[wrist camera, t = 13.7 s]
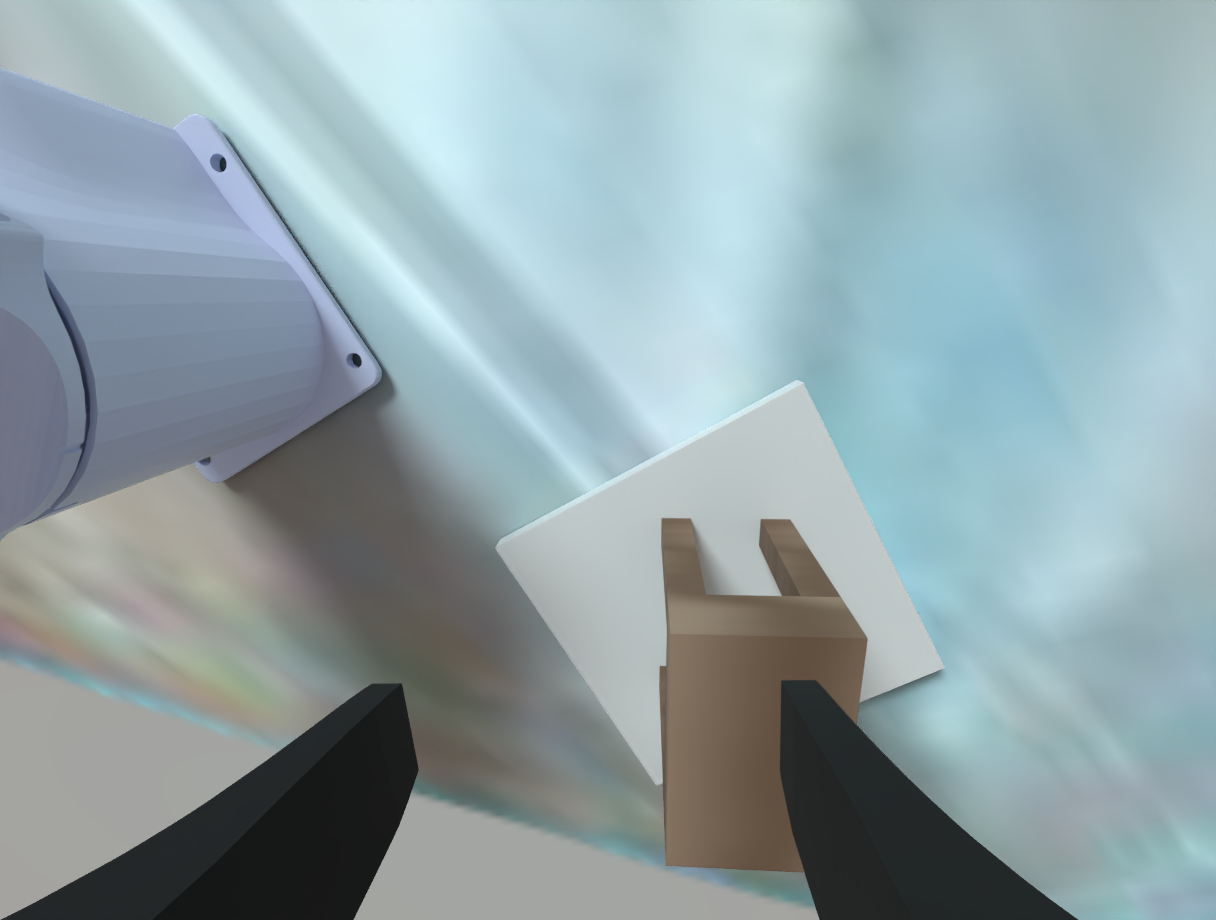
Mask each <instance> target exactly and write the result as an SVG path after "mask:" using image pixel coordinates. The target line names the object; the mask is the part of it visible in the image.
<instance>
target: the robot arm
mask: <svg viewBox="0 0 1216 920" xmlns="http://www.w3.org/2000/svg"><path fill="white" fill-rule="evenodd" d="M223 157H224V158H225V160H226V162H227V166H226V169H225V170H224V171H223V172H222V171H221V169H220V166H219V163H220V160H221V158H223ZM354 353H356V354H358V355H359V356H360V357H361V360H362V363H361V366H360V367H358V366H356V365H355V364H354V363H353V360H352V357H353V354H354ZM381 377H382V370H381V368H380V366H379V364H378V363H377V361H376V360H375V358H374V357H373V355H372V354H371V352H370V351H369V349H368V348H367V346H366V345H365V343H364V342H363V340H362V339H361V337H360V336H359V335H358V333H357V332H356V330H355V329H354V327H353V326H352V324H351V323H350V321H349V320H348V318H347V317H346V315H345V314H344V312H343V311H342V309H341V308H340V306H339V305H338V303H337V302H336V301H335V299H334V298H333V296H332V295H331V293H330V292H329V290H328V289H327V287H326V286H325V284H324V283H323V281H322V280H321V278H320V277H319V275H318V274H317V272H316V271H315V269H314V268H313V267H312V265H311V264H310V262H309V261H308V259H307V258H306V256H305V255H304V253H303V252H302V250H301V249H300V247H299V246H298V244H297V243H296V241H295V240H294V238H293V237H292V235H291V234H290V233H289V231H288V230H287V228H286V227H285V225H284V224H283V222H282V221H281V219H280V218H279V216H278V215H277V213H276V212H275V210H274V209H273V207H272V206H271V204H270V203H269V201H268V200H267V199H266V197H265V196H264V194H263V193H262V191H261V190H260V188H259V187H258V185H257V184H256V182H255V181H254V179H253V178H252V176H251V175H250V173H249V172H248V170H247V169H246V167H245V166H244V165H243V163H242V162H241V160H240V159H239V157H238V156H237V154H236V153H235V151H234V150H233V148H232V147H231V145H230V144H229V142H228V141H227V139H226V138H225V136H224V135H223V134H222V132H221V131H220V129H219V128H218V126H217V125H216V124H215V123H214V122H213V121H212V120H210V119H208V118H206V117H204V116H201V115H199V114H192V115H190V116H188V117H186V118H185V119H184V120H183V121H182V122H180V123H179V124H178V125H177V126H175V127H174V128H170V127H167V126H165V125H162V124H159V123H156V122H153V121H151V120H148V119H145V118H142V117H139V116H136V115H134V114H131V113H128V112H125V111H122V110H120V109H117V108H114V107H111V106H108V105H105V104H103V103H100V102H97V101H94V100H91V99H89V98H86V97H83V96H80V95H77V94H74V93H72V92H69V91H66V90H63V89H60V88H57V87H55V86H52V85H49V84H46V83H43V82H41V81H38V80H35V79H32V78H29V77H26V76H24V75H21V74H18V73H15V72H12V71H10V70H7V69H4V68H1V67H0V541H1V540H2V539H3V537H4V536H5V535H7V534H8V533H9V532H11V531H13V530H15V529H17V528H18V527H20V526H23V525H27V524H29V523H32V522H35V521H38V520H40V519H43V518H46V517H48V516H51V515H54V514H56V513H59V512H62V511H64V510H67V509H70V508H73V507H75V506H78V505H81V504H83V503H86V502H89V501H91V500H94V499H97V498H100V497H102V496H105V495H108V494H110V493H113V492H116V491H118V490H121V489H124V488H127V487H129V486H132V485H135V484H137V483H140V482H143V481H145V480H148V479H151V478H153V477H156V476H159V475H162V474H164V473H167V472H170V471H172V470H175V469H178V468H180V467H183V466H186V465H189V464H191V463H193V464H194V465H195V466H196V467H197V469H198V470H199V471H200V472H201V474H202V475H203V476H204V477H205V478H206V479H207V480H209V481H211V482H213V483H219V482H222V481H224V480H227V479H229V478H230V477H232V476H234V475H235V474H237V473H238V472H240V471H241V470H243V469H245V468H246V467H248V466H249V465H251V464H252V463H254V462H256V461H257V460H259V459H260V458H262V457H263V456H265V455H267V454H268V453H270V452H271V451H273V450H275V449H276V448H278V447H279V446H281V445H282V444H284V443H286V442H287V441H289V440H290V439H292V438H293V437H295V436H297V435H298V434H300V433H301V432H303V431H305V430H306V429H308V428H309V427H311V426H312V425H314V424H316V423H317V422H319V421H320V420H322V419H323V418H325V417H327V416H328V415H330V414H331V413H333V412H334V411H336V410H338V409H339V408H341V407H342V406H344V405H346V404H347V403H349V402H350V401H352V400H353V399H355V398H357V397H358V396H360V395H361V394H363V393H364V392H366V391H368V390H369V389H371V388H372V387H374V386H375V385H377V384H378V383H379V382H380V380H381ZM207 457H210V459H211V462H209V461H208V460H207V459H206V458H207ZM418 770H419V769H418V764H417V759H416V754H415V749H414V744H413V738H412V733H411V728H410V723H409V718H408V713H407V708H406V703H405V698H404V692H403V687H402V684H371V685H369V686H368V687H366V688H365V689H363V690H362V691H360V692H359V693H357V694H356V695H355V696H353V697H352V698H350V699H349V700H348V701H346V702H345V703H344V704H342V705H341V706H340V707H338V708H337V709H335V710H334V711H333V712H331V713H330V714H329V715H327V716H326V717H325V718H323V719H322V720H321V721H319V722H318V723H317V724H315V725H314V726H313V727H311V728H310V729H309V730H307V731H306V732H305V733H303V734H302V735H301V736H299V737H298V738H297V739H295V740H294V741H293V742H291V743H290V744H288V745H287V746H286V747H284V748H283V749H282V750H280V751H279V752H278V753H276V754H275V755H274V756H272V757H271V758H269V759H268V760H267V761H265V762H264V763H262V764H261V765H260V766H258V767H257V768H255V769H254V770H252V771H251V772H249V773H248V774H247V775H245V776H244V777H242V778H241V779H239V780H238V781H237V782H235V783H234V784H232V785H231V786H229V787H228V788H226V789H225V790H224V791H222V792H221V793H219V794H218V795H216V796H215V797H214V798H212V799H211V800H209V801H208V802H207V803H205V804H203V805H202V806H200V807H199V808H197V809H196V810H194V811H192V812H191V813H190V814H188V815H186V816H185V817H183V818H182V819H180V820H178V821H177V822H175V823H174V824H172V825H171V826H169V827H167V828H166V829H164V830H162V831H161V832H159V833H157V834H156V835H154V836H153V837H151V838H149V839H148V840H146V841H145V842H143V843H141V844H139V845H138V846H136V847H134V848H133V849H131V850H129V851H128V852H126V853H124V854H122V855H121V856H119V857H117V858H116V859H114V860H112V861H110V862H108V863H106V864H105V865H103V866H101V867H99V868H97V869H95V870H94V871H92V872H90V873H88V874H86V875H85V876H83V877H81V878H79V879H77V880H76V881H74V882H72V883H70V884H68V885H66V886H64V887H62V888H61V889H59V890H57V891H55V892H53V893H51V894H50V895H48V896H46V897H44V898H43V899H40V900H39V901H37V902H35V903H33V904H31V905H29V906H27V907H25V908H23V909H21V910H19V911H18V912H15V913H13V914H11V915H9V916H7V917H6V918H3V919H1V920H354V918H355V916H356V913H357V911H358V909H359V907H360V905H361V903H362V901H363V899H364V897H365V895H366V893H367V891H368V889H369V887H370V885H371V883H372V881H373V879H374V877H375V875H376V873H377V870H378V869H379V867H380V865H381V862H382V860H383V858H384V856H385V854H386V852H387V850H388V848H389V846H390V844H391V842H392V840H393V838H394V835H395V833H396V831H397V829H398V827H399V824H400V822H401V819H402V816H403V814H404V811H405V808H406V805H407V803H408V800H409V797H410V794H411V791H412V788H413V785H414V782H415V779H416V776H417V773H418ZM780 775H781V780H782V785H783V790H784V795H785V800H786V805H787V810H788V815H789V819H790V824H791V829H792V833H793V836H794V840H795V843H796V846H797V849H798V853H799V856H800V859H801V862H802V865H803V869H804V872H805V875H806V878H807V881H808V885H809V888H810V891H811V894H812V897H813V900H814V904H815V907H816V910H817V913H818V916H819V919H820V920H1078V919H1076V918H1075V917H1074V916H1072V915H1071V914H1069V913H1068V912H1067V911H1065V910H1064V909H1063V908H1061V907H1060V906H1058V905H1057V904H1056V903H1054V902H1053V901H1052V900H1050V899H1049V898H1048V897H1046V896H1045V895H1044V894H1042V893H1041V892H1040V891H1038V890H1037V889H1036V888H1035V887H1033V886H1032V885H1031V884H1029V883H1028V882H1027V881H1025V880H1024V879H1023V878H1022V877H1020V876H1019V875H1018V874H1017V873H1015V872H1014V871H1013V870H1012V869H1010V868H1009V867H1008V866H1007V865H1006V864H1004V863H1003V862H1002V861H1001V860H999V859H998V858H997V857H996V856H994V855H993V854H992V853H991V852H990V851H988V850H987V849H986V848H985V847H983V846H982V845H981V844H980V843H979V842H977V841H976V840H975V839H974V838H973V837H971V836H970V835H969V834H968V833H967V832H966V831H964V830H963V829H962V828H961V827H960V826H959V825H958V824H957V823H955V822H954V821H953V820H952V819H951V818H950V817H949V816H948V815H947V814H946V813H944V812H943V811H942V810H941V809H940V808H939V807H938V806H937V805H936V804H935V803H934V802H933V801H931V800H930V799H929V798H928V797H927V796H926V795H925V794H924V793H923V792H922V791H921V790H920V789H919V788H918V787H917V786H916V785H915V784H914V783H913V782H912V781H911V780H909V779H908V778H907V777H906V776H905V775H904V774H903V773H902V772H901V771H900V769H899V768H898V767H897V766H896V765H895V764H894V763H893V762H892V761H891V760H890V759H889V758H888V757H887V756H886V755H885V754H884V753H883V752H882V751H881V750H880V749H879V748H878V747H877V746H876V745H875V744H874V743H873V742H872V741H871V740H870V739H869V738H868V737H867V736H866V734H865V733H864V732H863V731H862V730H861V729H860V728H859V727H858V726H857V725H856V724H855V722H854V721H853V720H852V719H851V718H850V717H849V716H848V715H847V714H846V713H845V711H844V710H843V709H842V708H841V707H840V706H839V705H838V704H837V702H836V701H835V700H834V699H833V698H832V697H831V696H830V695H829V693H828V692H827V691H826V690H825V689H824V688H823V687H822V686H821V685H820V684H819V683H818V682H817V681H816V680H781V728H780Z"/></svg>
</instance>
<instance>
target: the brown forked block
mask: <svg viewBox="0 0 1216 920" xmlns="http://www.w3.org/2000/svg"><path fill="white" fill-rule="evenodd" d="M759 547H760V549H761V551H762V554H763V556H764V558H765V560H766V562H767V564H768V567H769V569H770V571H771V573H772V575H773V578H774V580H775V582H776V584H777V586H778V588H779V591H780V593H781V595H782V596H752V595H706V591H705V586H704V581H703V576H702V572H701V567H700V562H699V557H698V552H697V547H696V543H695V538H694V533H693V528H692V523H691V519H690V518H662V520H661V549H662V564H663V579H664V593H665V608H666V623H667V646H666V666H660V668H659V695H660V721H661V748H662V774H663V800H664V826H665V853H666V866H683V867H704V868H724V869H744V870H765V871H785V872H804V869H803V865H802V862H801V859H800V856H799V853H798V849H797V846H796V843H795V840H794V836H793V833H792V829H791V824H790V819H789V815H788V810H787V805H786V800H785V795H784V790H783V785H782V780H781V775H780V728H781V680H816V681H817V682H818V683H819V684H820V685H821V686H822V687H823V688H824V689H825V690H826V691H827V692H828V693H829V695H830V696H831V697H832V698H833V699H834V700H835V701H836V702H837V704H838V705H839V706H840V707H841V708H842V709H843V710H844V711H845V713H846V714H847V715H848V716H849V717H850V718H851V719H852V720H853V721H854V722H855V724H856V725H857V717H858V710H859V702H860V695H861V687H862V679H863V672H864V664H865V657H866V649H867V642H868V638H867V636H866V635H865V633H864V632H863V630H862V629H861V627H860V626H859V624H858V622H857V621H856V619H855V618H854V616H853V615H852V613H851V612H850V610H849V609H848V607H847V606H846V604H845V603H844V601H843V599H842V598H841V596H840V595H839V593H838V592H837V590H836V589H835V587H834V586H833V584H832V583H831V581H830V580H829V578H828V576H827V575H826V573H825V572H824V570H823V569H822V567H821V566H820V564H819V563H818V561H817V560H816V558H815V557H814V555H813V553H812V552H811V550H810V549H809V547H808V546H807V544H806V543H805V541H804V540H803V538H802V537H801V535H800V534H799V532H798V530H797V529H796V527H795V526H794V524H793V523H792V521H791V520H790V519H761V521H760V536H759Z"/></svg>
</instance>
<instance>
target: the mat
mask: <svg viewBox="0 0 1216 920" xmlns="http://www.w3.org/2000/svg"><path fill="white" fill-rule="evenodd" d="M662 518H690V519H691V523H692V528H693V533H694V538H695V543H696V547H697V552H698V557H699V562H700V567H701V572H702V576H703V581H704V586H705V591H706V595H752V596H782V595H781V593H780V591H779V588H778V586H777V584H776V582H775V580H774V578H773V575H772V573H771V571H770V569H769V567H768V564H767V562H766V560H765V558H764V556H763V554H762V551H761V549H760V547H759V536H760V521H761V519H790V520H791V521H792V523H793V524H794V526H795V527H796V529H797V530H798V532H799V534H800V535H801V537H802V538H803V540H804V541H805V543H806V544H807V546H808V547H809V549H810V550H811V552H812V553H813V555H814V557H815V558H816V560H817V561H818V563H819V564H820V566H821V567H822V569H823V570H824V572H825V573H826V575H827V576H828V578H829V580H830V581H831V583H832V584H833V586H834V587H835V589H836V590H837V592H838V593H839V595H840V596H841V598H842V599H843V601H844V603H845V604H846V606H847V607H848V609H849V610H850V612H851V613H852V615H853V616H854V618H855V619H856V621H857V622H858V624H859V626H860V627H861V629H862V630H863V632H864V633H865V635H866V636H867V638H868V642H867V649H866V657H865V664H864V672H863V679H862V687H861V695H860V702H862V701H865V700H867V699H870V698H872V697H875V696H877V695H880V694H882V693H884V692H887V691H889V690H892V689H894V688H897V687H899V686H902V685H904V684H907V683H909V682H911V681H914V680H916V679H919V678H921V677H924V676H926V675H929V674H931V673H933V672H936V671H938V670H941V669H943V668H945V667H944V665H943V663H942V661H941V659H940V657H939V655H938V653H937V651H936V649H935V647H934V645H933V643H932V641H931V639H930V637H929V635H928V633H927V631H926V629H925V627H924V625H923V623H922V621H921V619H920V617H919V615H918V613H917V611H916V609H915V606H914V604H913V602H912V600H911V598H910V596H909V594H908V592H907V590H906V588H905V586H904V584H903V582H902V580H901V578H900V576H899V574H898V572H897V570H896V568H895V566H894V564H893V562H892V560H891V558H890V556H889V554H888V552H887V550H886V548H885V546H884V544H883V542H882V540H881V538H880V536H879V534H878V532H877V530H876V528H875V526H874V524H873V522H872V520H871V518H870V516H869V514H868V512H867V510H866V508H865V506H864V504H863V502H862V500H861V498H860V496H859V494H858V492H857V490H856V488H855V486H854V484H853V482H852V480H851V478H850V476H849V474H848V472H847V470H846V468H845V466H844V464H843V462H842V460H841V458H840V456H839V454H838V452H837V450H836V448H835V446H834V444H833V442H832V439H831V437H830V435H829V433H828V431H827V429H826V427H825V425H824V423H823V421H822V419H821V417H820V415H819V413H818V411H817V409H816V407H815V405H814V403H813V401H812V399H811V397H810V395H809V393H808V391H807V389H806V387H805V385H804V383H802V382H800V381H799V380H795V381H794V382H792V383H790V384H788V385H786V386H784V387H782V388H781V389H779V390H777V391H775V392H773V393H771V394H769V395H767V396H766V397H764V398H762V399H760V400H758V401H756V402H754V403H753V404H751V405H749V406H747V407H745V408H743V409H741V410H740V411H738V412H736V413H734V414H732V415H730V416H728V417H727V418H725V419H723V420H721V421H719V422H717V423H715V424H714V425H712V426H710V427H708V428H706V429H704V430H702V431H700V432H699V433H697V434H695V435H693V436H691V437H689V438H687V439H686V440H684V441H682V442H680V443H678V444H676V445H674V446H673V447H671V448H669V449H667V450H665V451H663V452H661V453H660V454H658V455H656V456H654V457H652V458H650V459H648V460H646V461H645V462H643V463H641V464H639V465H637V466H635V467H633V468H632V469H630V470H628V471H626V472H624V473H622V474H620V475H619V476H617V477H615V478H613V479H611V480H609V481H607V482H606V483H604V484H602V485H600V486H598V487H596V488H594V489H592V490H591V491H589V492H587V493H585V494H583V495H581V496H579V497H578V498H576V499H574V500H572V501H570V502H568V503H566V504H565V505H563V506H561V507H559V508H557V509H555V510H553V511H552V512H550V513H548V514H546V515H544V516H542V517H540V518H538V519H537V520H535V521H533V522H531V523H529V524H527V525H525V526H524V527H522V528H520V529H518V530H516V531H514V532H512V533H511V534H509V535H507V536H505V537H503V538H501V539H500V540H499V542H498V544H497V546H496V547H495V549H496V550H497V552H498V553H499V555H500V556H501V558H502V559H503V561H504V562H505V564H506V565H507V567H508V568H509V570H510V571H511V572H512V574H513V575H514V577H515V578H516V580H517V581H518V583H519V584H520V586H521V587H522V589H523V590H524V592H525V593H526V595H527V596H528V597H529V599H530V600H531V602H532V603H533V605H534V606H535V608H536V609H537V611H538V612H539V614H540V615H541V617H542V618H543V619H544V621H545V622H546V624H547V625H548V627H549V628H550V630H551V631H552V633H553V634H554V636H555V637H556V639H557V640H558V642H559V643H560V644H561V646H562V647H563V649H564V650H565V652H566V653H567V655H568V656H569V658H570V659H571V661H572V662H573V664H574V665H575V667H576V668H577V669H578V671H579V672H580V674H581V675H582V677H583V678H584V680H585V681H586V683H587V684H588V686H589V687H590V689H591V690H592V692H593V693H594V694H595V696H596V697H597V699H598V700H599V702H600V703H601V705H602V706H603V708H604V709H605V711H606V712H607V714H608V715H609V716H610V718H611V719H612V721H613V722H614V724H615V725H616V727H617V728H618V730H619V731H620V733H621V734H622V736H623V737H624V739H625V740H626V741H627V743H628V744H629V746H630V747H631V749H632V750H633V752H634V753H635V755H636V756H637V758H638V759H639V761H640V762H641V764H642V765H643V766H644V768H645V769H646V771H647V772H648V774H649V775H650V777H651V778H652V780H653V781H654V783H655V784H656V785H659V784H661V783H663V774H662V748H661V721H660V695H659V668H660V666H666V646H667V623H666V608H665V593H664V579H663V564H662V549H661V520H662ZM860 702H859V703H860Z"/></svg>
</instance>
